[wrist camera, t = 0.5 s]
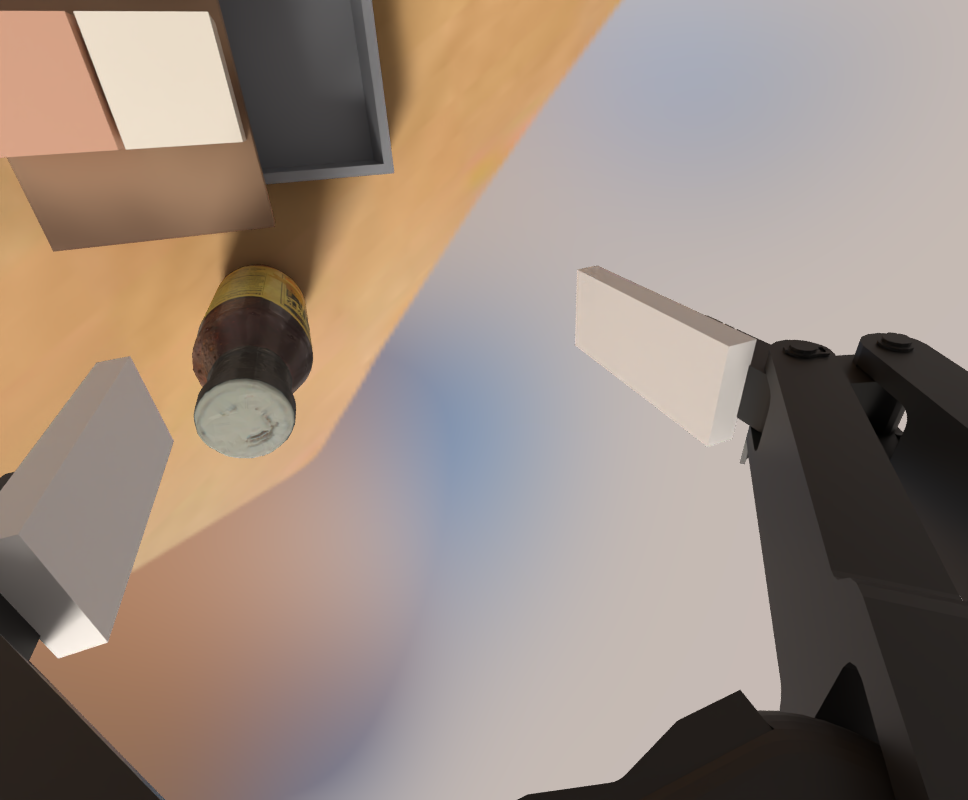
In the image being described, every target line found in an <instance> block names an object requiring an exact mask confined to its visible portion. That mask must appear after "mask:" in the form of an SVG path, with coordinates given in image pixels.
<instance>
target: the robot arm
mask: <svg viewBox="0 0 968 800" xmlns="http://www.w3.org/2000/svg"><path fill="white" fill-rule="evenodd" d="M575 346H577V347H578V348H579V349H581V350H582V351H583V352H584V353H586V354H587V355H589V356H590V357H591V358H592V359H594V360H595V361H596V362H597V363H599V364H600V365H601V366H603V367H604V368H605V369H607V370H608V371H609V372H610V373H612V374H613V375H615V376H616V377H617V378H618V379H620V380H621V381H622V382H624V383H625V384H626V385H627V386H629V387H630V388H631V389H633V390H634V391H635V392H637V393H638V394H639V395H640V396H642V397H643V398H644V399H646V400H647V401H648V402H650V403H651V404H652V405H654V406H655V407H656V408H657V409H659V410H660V411H661V412H663V413H664V414H665V415H667V416H668V417H669V418H671V419H672V420H673V421H674V422H676V423H677V424H678V425H680V426H681V427H682V428H683V429H685V430H686V431H687V432H689V433H690V434H691V435H693V436H694V437H695V438H696V439H698V440H699V441H700V442H702V443H703V444H704V445H706V446H707V447H709V446H712V445H716V444H718V443H722V442H725V441H728V440H731V439H733V435H734V431H735V426H736V422H737V418H739V419H740V420H742V421H743V422H745V423H746V424H748V425H750V426H749V430H748V433H747V437H746V441H745V445H744V449H743V453H742V456H741V460H740V463H741V464H745V461H746V459H747V458H749V463H750V470H751V477H752V484H753V491H754V498H755V505H756V512H757V519H758V526H759V533H760V540H761V546H762V553H763V561H764V568H765V575H766V582H767V589H768V596H769V603H770V610H771V616H772V623H773V631H774V638H775V644H776V652H777V659H778V666H779V673H780V680H781V704H780V711H757V710H756V709H755V708H754V706H753V705H752V704H751V703H750V701H749V700H748V699H747V698H746V697H745V695H744V694H743V693H742V692H741V690H739V691H737V692H735V693H733V694H731V695H729V696H727V697H725V698H723V699H721V700H719V701H716V702H715V703H712V704H710V705H708V706H707V707H705V708H702V709H700V710H698V711H696V712H694V713H692V714H690V715H688V716H686V717H684V718H682V719H680V720H678V721H677V722H676V723H675V724H674V725H673V726H672V727H671V728H670V729H669V730H668V731H667V732H666V733H665V734H664V735H663V736H662V737H661V738H660V739H659V740H658V741H657V743H656V744H655V745H654V746H653V747H652V748H651V749H650V750H649V751H648V752H647V753H646V754H645V755H644V756H643V757H642V758H641V759H640V760H639V761H638V762H637V763H636V764H635V765H634V767H633V768H632V769H631V770H630V771H629V772H628V773H627V774H626V775H625V776H624V777H623V778H621V779H619V780H618V781H615V782H611V783H605V784H599V785H591V786H584V787H577V788H570V789H564V790H557V791H549V792H542V793H536V794H528V795H526V796H524V797H522V798H520V799H518V800H968V371H966V370H965V369H963V368H962V367H960V366H959V365H957V364H956V363H954V362H953V361H951V360H950V359H948V358H946V357H945V356H943V355H942V354H940V353H939V352H937V351H936V350H934V349H933V348H931V347H930V346H928V345H927V344H925V343H922V342H921V341H918V340H916V339H913V338H909V337H908V336H906V335H903V334H897V333H887V334H885V333H875V334H868V335H865V336H863V337H861V339H860V342H859V345H858V347H857V350H856V353H855V355H842V356H835V354H834V353H833V352H832V351H831V350H830V349H828V348H827V347H824V346H822V345H819V344H816V343H812V342H807V341H801V340H783V341H778V342H775V343H773V344H772V345H770V344H768V343H766V342H764V341H762V340H759V339H757V338H755V337H753V336H751V335H749V334H746V333H744V332H742V331H740V330H738V329H737V330H736V329H734V328H733V327H731V326H729V325H727V324H723V323H722V322H720V321H718V320H716V319H714V318H711V317H709V316H706V315H703V314H701V313H699V312H697V311H694V310H692V309H690V308H688V307H686V306H683V305H681V304H679V303H677V302H675V301H673V300H671V299H668V298H666V297H664V296H662V295H660V294H658V293H655V292H653V291H651V290H649V289H647V288H645V287H642V286H640V285H638V284H636V283H634V282H632V281H630V280H627V279H625V278H623V277H621V276H619V275H617V274H614V273H612V272H610V271H608V270H606V269H604V268H602V267H599V266H593V267H588V268H582V269H578V270H577V291H576V328H575ZM905 410H906V413H907V424H906V427H905V430H904V432H902V431H901V430H900V429H899V428H898V424H899V423H900V420H901V418H902V416H903V414H904V411H905ZM173 442H174V441H173V439H172V437H171V435H170V433H169V431H168V429H167V427H166V425H165V423H164V421H163V419H162V417H161V415H160V413H159V411H158V409H157V407H156V405H155V404H154V402H153V400H152V398H151V396H150V394H149V392H148V390H147V388H146V386H145V384H144V382H143V380H142V378H141V376H140V374H139V372H138V370H137V368H136V367H135V365H134V363H133V361H132V359H131V357H130V356H128V357H123V358H118V359H113V360H108V361H103V362H97V363H96V364H95V365H94V367H93V368H92V369H91V371H90V372H89V373H88V375H87V376H86V377H85V379H84V380H83V381H82V383H81V384H80V385H79V387H78V388H77V389H76V391H75V392H74V393H73V395H72V396H71V397H70V399H69V400H68V401H67V403H66V404H65V405H64V407H63V408H62V409H61V411H60V412H59V413H58V415H57V416H56V417H55V419H54V420H53V421H52V423H51V424H50V425H49V427H48V428H47V429H46V431H45V432H44V433H43V435H42V436H41V437H40V439H39V440H38V441H37V443H36V444H35V445H34V447H33V448H32V449H31V451H30V452H29V453H28V455H27V456H26V457H25V459H24V460H23V461H22V463H21V464H20V465H19V467H18V468H17V469H16V471H15V472H12V473H8V474H5V475H3V476H2V477H1V478H0V800H165V799H164V798H163V797H162V796H161V795H160V794H159V793H158V792H157V791H156V790H155V789H154V788H153V787H152V786H151V785H150V784H149V783H148V782H147V781H146V780H145V779H144V778H143V777H142V776H141V775H140V774H139V772H138V771H137V770H135V768H134V767H133V766H132V765H130V763H129V762H128V761H127V760H126V759H125V758H124V757H123V756H122V755H121V754H120V753H119V752H118V751H117V750H116V749H115V748H114V747H113V746H112V745H111V744H110V743H109V742H108V741H107V740H106V739H105V738H104V737H103V736H102V735H101V734H100V733H99V732H98V731H97V730H96V729H95V727H94V726H93V725H91V723H90V722H89V721H88V720H87V719H86V718H85V717H84V716H83V715H82V714H81V713H80V712H79V711H78V710H77V709H76V708H75V707H74V706H73V705H72V704H71V703H70V702H69V701H68V700H67V699H66V698H65V697H64V696H63V695H62V694H61V693H60V692H59V691H58V690H57V689H56V688H55V687H54V686H53V685H52V684H51V683H50V682H49V680H48V679H47V678H46V677H45V676H44V675H43V674H42V673H41V672H40V671H39V670H38V669H37V668H36V667H35V666H34V665H32V663H31V662H30V661H29V660H30V657H31V655H32V653H33V651H34V649H35V647H36V645H37V642H38V640H39V639H40V640H41V641H42V642H43V643H44V644H45V645H46V646H47V647H48V648H49V649H50V650H51V652H52V653H53V654H54V655H55V656H56V657H57V658H61V657H64V656H67V655H70V654H73V653H76V652H79V651H83V650H85V649H89V648H92V647H95V646H98V645H101V644H104V643H107V642H108V640H109V637H110V634H111V631H112V628H113V625H114V622H115V619H116V616H117V613H118V610H119V606H120V604H121V601H122V598H123V595H124V591H125V588H126V585H127V582H128V579H129V576H130V573H131V570H132V567H133V564H134V561H135V558H136V555H137V552H138V549H139V546H140V543H141V540H142V537H143V534H144V530H145V527H146V524H147V521H148V518H149V515H150V512H151V509H152V506H153V503H154V500H155V497H156V494H157V491H158V488H159V485H160V482H161V479H162V476H163V473H164V470H165V466H166V463H167V460H168V457H169V454H170V451H171V448H172V445H173ZM961 598H962V599H963V600H962V599H961Z"/></svg>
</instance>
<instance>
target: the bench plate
mask: <svg viewBox="0 0 968 800" xmlns="http://www.w3.org/2000/svg"><path fill="white" fill-rule="evenodd" d="M0 11H65V12H67V13H69V14H71V15H73V16H75V15H74V12H73V11H179V12H209V14H210V16H211V17H212V19H213V20H214V22H215V23H216V27H217V31H218V35H219V38H220V42H221V46H222V50H223V53H224V57H225V61H226V65H227V69H228V72H229V76H230V80H231V84H232V88H233V91H234V95H235V99H236V103H237V106H238V110H239V114H240V118H241V122H242V125H243V129H244V133H245V137H246V141H244V142H236V143H220V144H205V145H189V146H174V147H158V148H143V149H127V150H126V149H122V150H112V151H96V152H81V153H65V154H50V155H34V156H19V157H7V159H8V161H9V163H10V165H11V167H12V169H13V171H14V173H15V175H16V177H17V179H18V181H19V183H20V185H21V187H22V189H23V191H24V193H25V195H26V197H27V199H28V201H29V203H30V205H31V207H32V209H33V211H34V213H35V215H36V217H37V219H38V221H39V223H40V225H41V227H42V229H43V231H44V233H45V235H46V237H47V239H48V241H49V243H50V245H51V248H52V250H53V252H54V251H63V250H72V249H81V248H90V247H99V246H108V245H117V244H126V243H135V242H144V241H153V240H162V239H171V238H180V237H189V236H198V235H207V234H216V233H225V232H234V231H243V230H252V229H261V228H270V227H275V219H274V215H273V211H272V207H271V203H270V199H269V195H268V191H267V187H266V183H265V180H264V176H263V172H262V168H261V164H260V160H259V156H258V152H257V148H256V145H255V141H254V137H253V133H252V129H251V125H250V121H249V117H248V113H247V110H246V106H245V102H244V98H243V94H242V90H241V86H240V82H239V78H238V75H237V71H236V67H235V63H234V59H233V55H232V51H231V47H230V43H229V40H228V36H227V32H226V28H225V24H224V20H223V16H222V12H221V8H220V5H219V1H218V0H0Z"/></svg>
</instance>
